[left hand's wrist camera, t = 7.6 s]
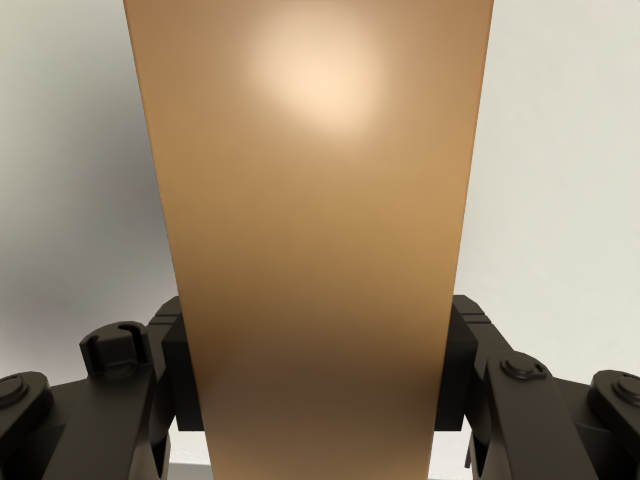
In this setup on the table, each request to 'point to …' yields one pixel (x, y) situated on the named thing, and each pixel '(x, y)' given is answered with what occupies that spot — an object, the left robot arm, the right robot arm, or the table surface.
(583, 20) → the table surface
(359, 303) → the wooden beam
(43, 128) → the table surface
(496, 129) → the table surface
